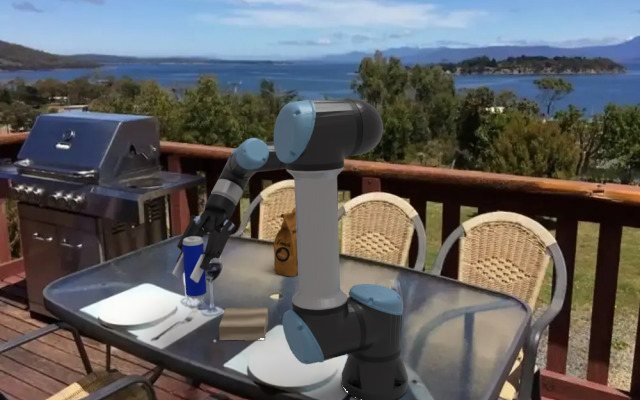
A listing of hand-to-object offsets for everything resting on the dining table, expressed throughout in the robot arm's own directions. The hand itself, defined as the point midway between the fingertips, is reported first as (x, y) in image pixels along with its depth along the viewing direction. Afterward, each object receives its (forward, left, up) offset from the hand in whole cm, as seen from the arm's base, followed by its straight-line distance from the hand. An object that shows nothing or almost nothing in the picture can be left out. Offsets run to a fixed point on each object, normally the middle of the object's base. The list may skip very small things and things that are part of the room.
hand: (184, 278), depth 142 cm
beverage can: (+3, -2, -6) cm, 7 cm away
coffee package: (+57, -24, -20) cm, 65 cm away
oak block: (+11, -13, -20) cm, 26 cm away
